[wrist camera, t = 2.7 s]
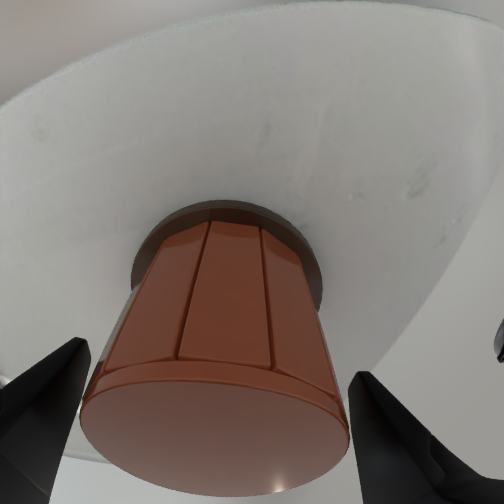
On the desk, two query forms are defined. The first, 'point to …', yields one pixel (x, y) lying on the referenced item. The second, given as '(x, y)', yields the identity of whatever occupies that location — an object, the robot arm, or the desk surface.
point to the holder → (237, 215)
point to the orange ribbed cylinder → (218, 371)
